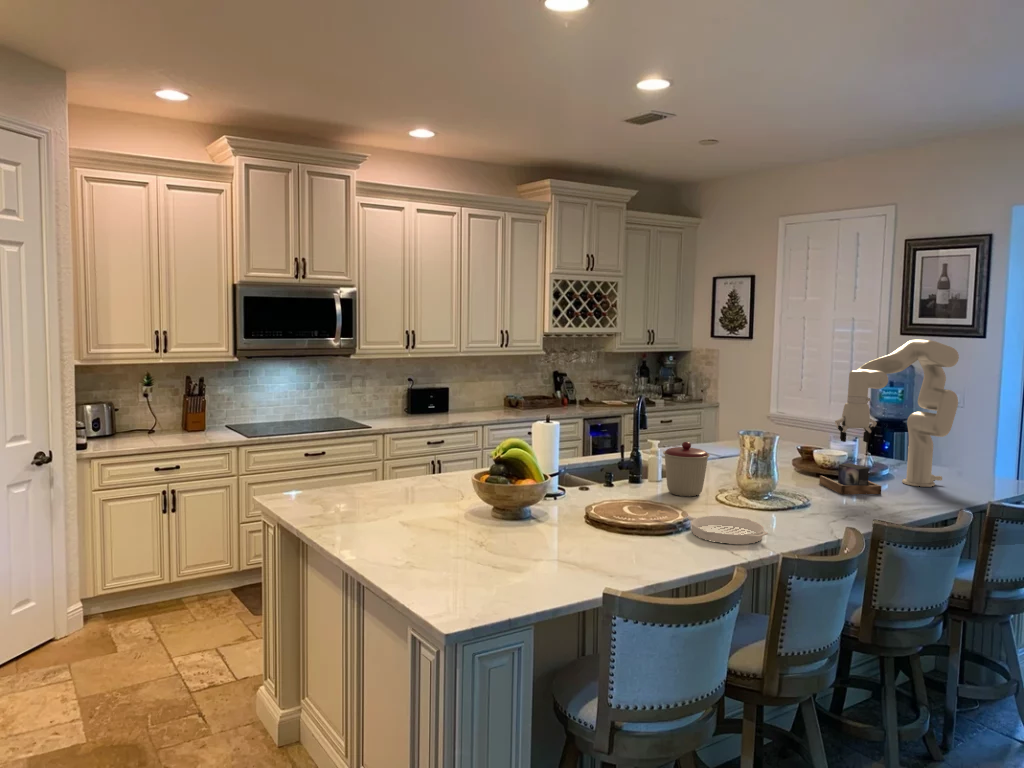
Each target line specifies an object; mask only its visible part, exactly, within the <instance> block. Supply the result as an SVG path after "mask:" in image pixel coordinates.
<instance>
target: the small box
mask: <svg viewBox="0 0 1024 768" xmlns="http://www.w3.org/2000/svg"><path fill="white" fill-rule="evenodd" d="M869 472H870V467H866V466H863V465H859V464H854V463H850V462H847V463H839V464H838V472H837V473H838V475H837V477H838V479H837V482H838V483H840V484H842V485H859V486H868V481H869Z"/></svg>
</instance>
